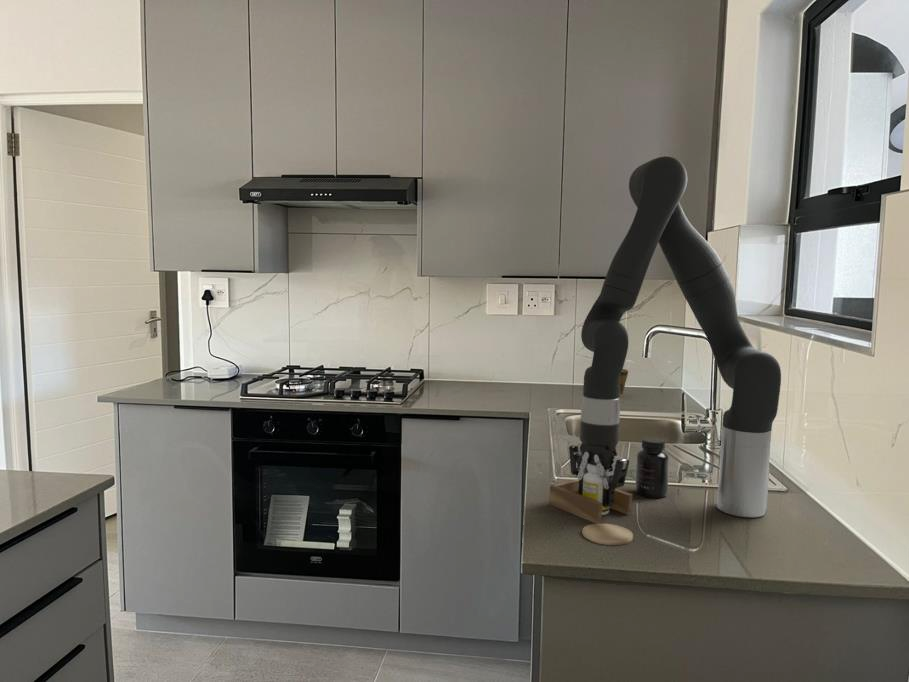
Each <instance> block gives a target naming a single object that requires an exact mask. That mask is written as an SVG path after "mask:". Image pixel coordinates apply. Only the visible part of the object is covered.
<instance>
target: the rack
mask: <svg viewBox="0 0 909 682" xmlns="http://www.w3.org/2000/svg"><path fill="white" fill-rule="evenodd" d="M548 504H549V506H552V507H554V508H557V509H558V510H559V509H560V510H562V511H564V512H567V513H569V514H571V515H574V516H577V517H579V518H582V519H584V520H587V521H589V522H592V523H593V524H602V516H603V515H602V502H599V501H596V500H593V499H591V498H588V497H585V496H583V495H580V494H579V479H578V478H576V479H574V480H568V481H565V482H564V481H563V482H560V483H556V484H551V485H550V486H549V502H548ZM632 507H633V493H630V492H628V491H624V490H620V489H618V488H615V496H614V503H613V504H612V506H610V507H609V509H611V510H614V511H616V512H619V513H622V514H625V515H627V516H629V515H632V512H633V511H632V509H633V508H632Z"/></svg>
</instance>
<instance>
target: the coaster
mask: <svg viewBox="0 0 909 682" xmlns="http://www.w3.org/2000/svg"><path fill="white" fill-rule="evenodd" d="M582 536H583V537H584V538H585V539H587V540H588V541H589V542H591V543H592V542H593V543H595V544H599V545H604V546H623V545H628V544H630V543H631V542H632V541H633V540H634V534H633V532H632V531H631V530H630V529H628V528H626V527H623V526H620V525H617V524H612V523H599V524H596V523H592V524H587V525H585V526H584V527H583V528H582Z"/></svg>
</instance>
